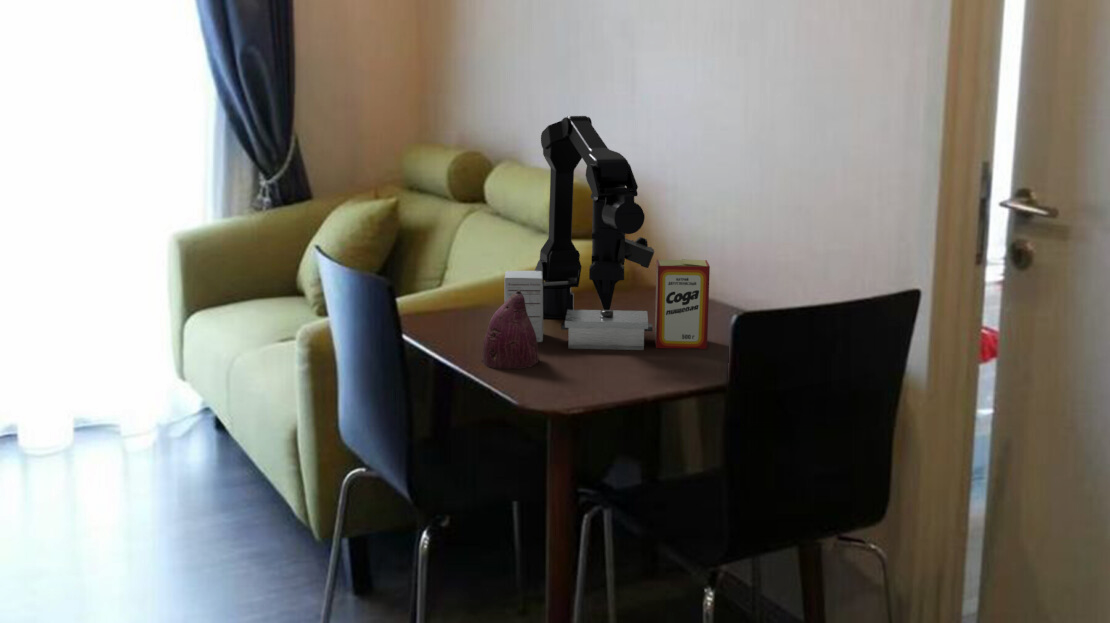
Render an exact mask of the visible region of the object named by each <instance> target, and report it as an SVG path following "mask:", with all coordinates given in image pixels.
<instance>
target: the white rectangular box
mask: <svg viewBox="0 0 1110 623" xmlns="http://www.w3.org/2000/svg"><path fill="white" fill-rule="evenodd" d="M560 324H561V325H560V330H562V331H568V347H567V348H568V349H569V350H570V349H573V350H614V351H615V350H622V351H623V350H624V351H627V350H628V351H629V350H630V351H644V348H645V332H653V323H648V329H617V328H565V321H562V322H561V323H560Z"/></svg>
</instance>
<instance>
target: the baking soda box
mask: <svg viewBox="0 0 1110 623" xmlns="http://www.w3.org/2000/svg"><path fill="white" fill-rule="evenodd" d="M655 270H656V272H655V275H656V276H655V279H656V280H655V308H654V309H655V315H654V343H655V348H656V349H687V350H688V349H690V348H699V349H700V350H701V349H702V350H708V334H709V333H708V331H709V330H708V329H709V328H708V327H709V306H710V305H709V303H710V302H709V301H710V300H709V299H710V297H709V295H710V274H711V273H710V270H711V268H710V264H709V262H708V260H704V259H656V269H655ZM699 349H698V350H699Z"/></svg>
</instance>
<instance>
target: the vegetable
mask: <svg viewBox="0 0 1110 623" xmlns="http://www.w3.org/2000/svg"><path fill="white" fill-rule="evenodd" d="M538 348H539V347H538V342H537V339H536V334H535V331H534V328H533V326H532V324H531V321H530V319H529V317H528V314H527V311H526V306H525V299H524V296H523V295H522V293H521V291H520V290H518V291H517V292H516V293H514V294H513V295H512V296H511V297H510V298H509V299H508V300H507V301H506V302H505V301H504V303H503V304H502V305H501V306H499V307H498V309H497V310H496V311H494V313H493V315H492V316H491V319H490V321H489V322H488V325H487V330H486V332H485V335H484V338H483V346H482V359H481V362H482V363H483V365H484V366H486V367H488V368H492V369H496V368H497V369H500V370H503V369H505V370H509V369H514V370H515V369H525V367H528V368H530V367H533V366H534V365H536V364H538V362H539V349H538Z"/></svg>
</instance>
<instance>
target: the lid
mask: <svg viewBox="0 0 1110 623" xmlns="http://www.w3.org/2000/svg"><path fill="white" fill-rule="evenodd" d="M648 316H649V315H648V310H620V309H619V310H613V309H610V310H604V309H574V310H567V314H566V318H564V322H565V328H617V329H648V324H649V317H648Z"/></svg>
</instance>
